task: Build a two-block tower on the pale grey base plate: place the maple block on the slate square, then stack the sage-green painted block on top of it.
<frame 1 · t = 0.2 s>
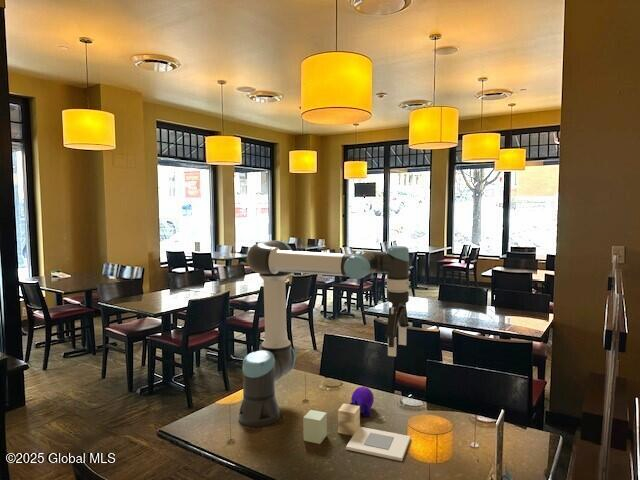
hand: (397, 350, 156), 27 cm above the table, fingers open, 13 cm apart
block sage: (315, 438, 149), on the table
base plate: (379, 444, 145), on the table
block maple: (349, 430, 154), on the table
toy: (360, 413, 167), on the table
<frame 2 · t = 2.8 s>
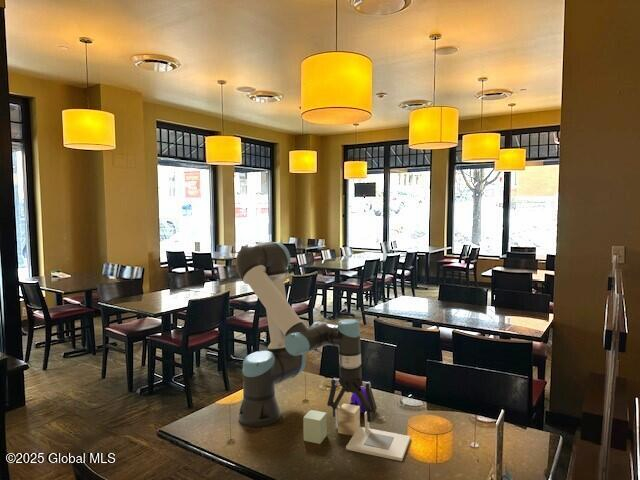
hand: (352, 428, 153), 1 cm above the table, fingers open, 10 cm apart
nothing on the table moved.
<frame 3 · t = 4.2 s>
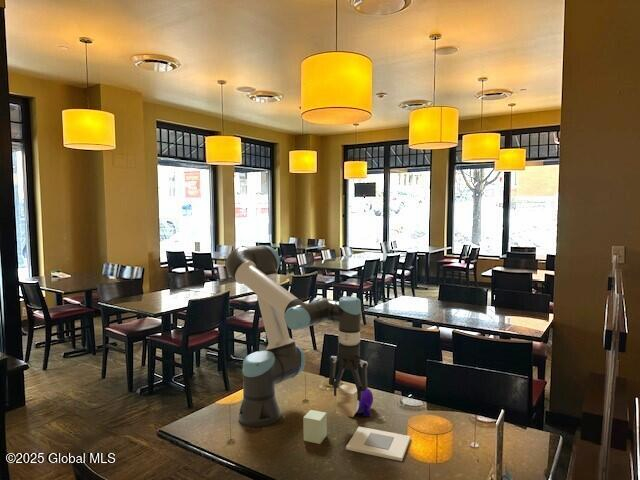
hand: (347, 406, 154), 8 cm above the table, fingers closed on block maple, 6 cm apart
block maple: (347, 411, 154), point 7 cm above the table, touching gripper
everything else where it was.
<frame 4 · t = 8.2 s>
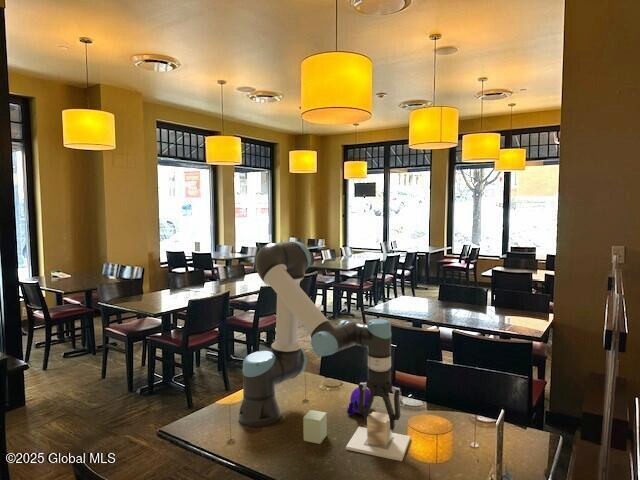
hand: (379, 436, 144), 3 cm above the table, fingers closed on block maple, 6 cm apart
block maple: (379, 440, 144), point 1 cm above the table, touching base plate, gripper
everything else where it was.
when the fingers open (3 cm above the table, at t = 8.5 s): block maple stays where it is, resting on base plate.
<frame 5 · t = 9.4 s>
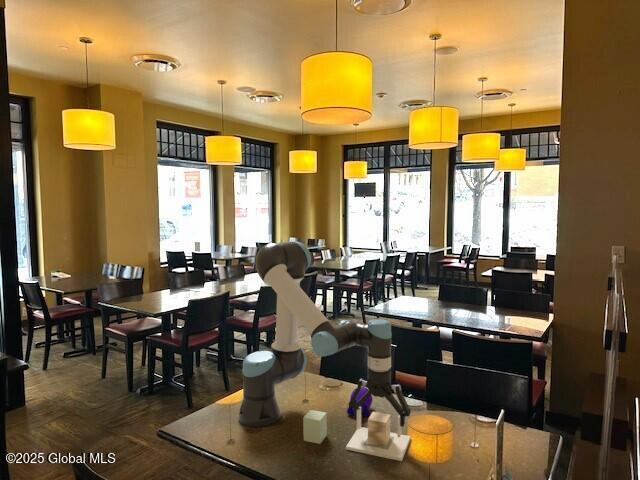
hand: (378, 431, 144), 4 cm above the table, fingers open, 13 cm apart
block maple: (379, 440, 144), point 1 cm above the table, touching base plate
everything else where it was.
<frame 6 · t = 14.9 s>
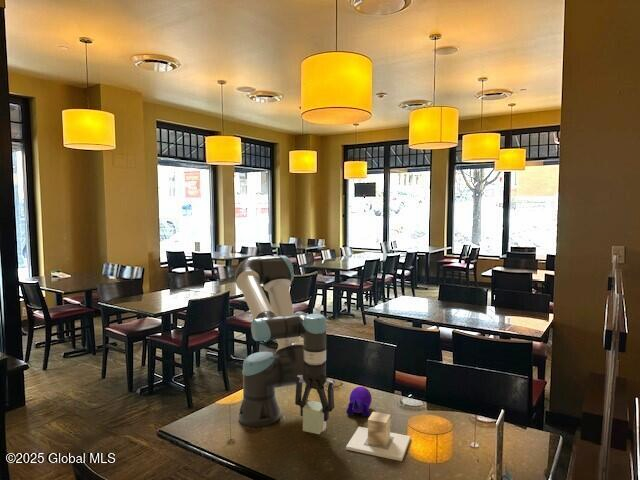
hand: (314, 427, 149), 3 cm above the table, fingers closed on block sage, 6 cm apart
block sage: (314, 428, 149), point 3 cm above the table, touching gripper
everything else where it was.
when the fingers open (10 cm above the table, at t = 19.3 s): block sage stays where it is, resting on block maple.
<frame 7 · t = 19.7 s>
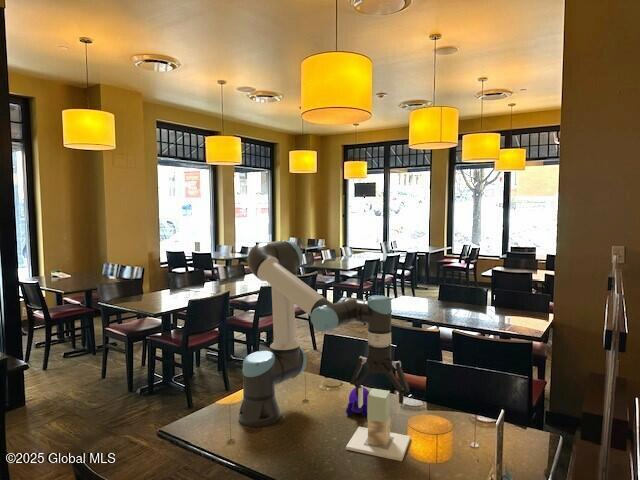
hand: (379, 409, 144), 12 cm above the table, fingers open, 12 cm apart
block sage: (378, 417, 144), point 9 cm above the table, touching block maple
block maple: (379, 440, 144), point 1 cm above the table, touching base plate, block sage
everything else where it was.
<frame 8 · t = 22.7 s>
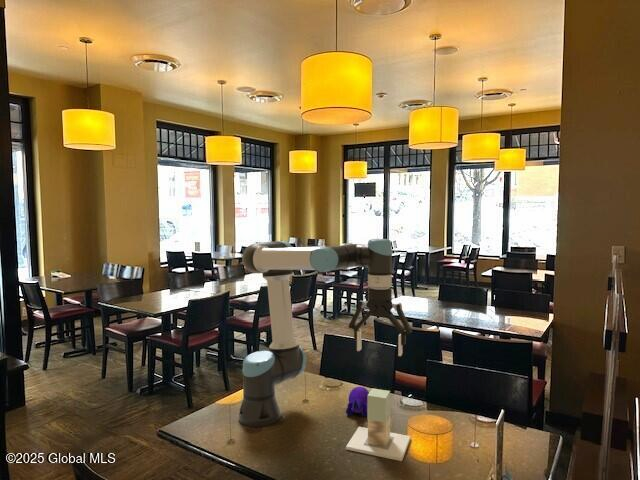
hand: (379, 352, 142), 31 cm above the table, fingers open, 13 cm apart
nothing on the table moved.
at the end: block maple 0.1 cm off-centre on the base plate, point 1.2 cm above the base plate's base; block sage 0.2 cm off-centre on the block maple, point 8.0 cm above the block maple's base; block sage tilted 0° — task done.
